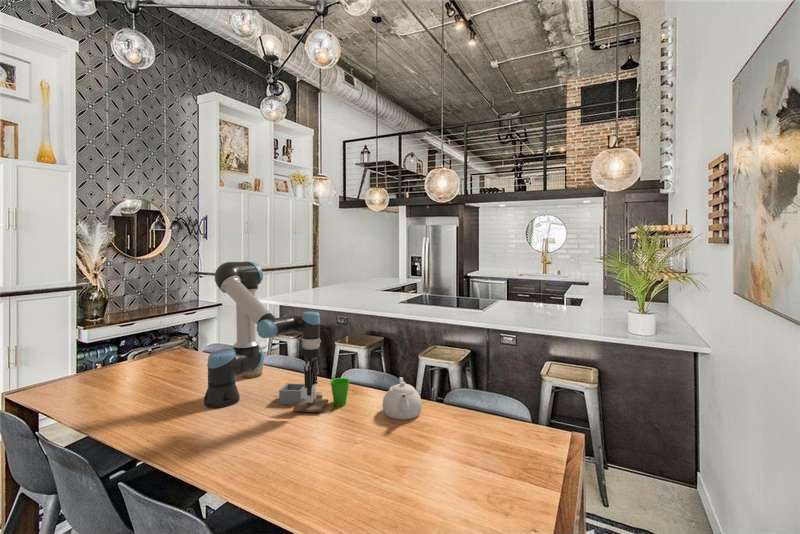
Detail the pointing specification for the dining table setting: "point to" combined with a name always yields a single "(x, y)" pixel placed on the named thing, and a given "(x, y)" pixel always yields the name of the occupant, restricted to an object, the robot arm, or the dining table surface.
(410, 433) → the dining table surface
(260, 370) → the planter
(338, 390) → the cup
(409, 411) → the teapot
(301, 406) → the lid
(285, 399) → the grey open box
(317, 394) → the maple block
